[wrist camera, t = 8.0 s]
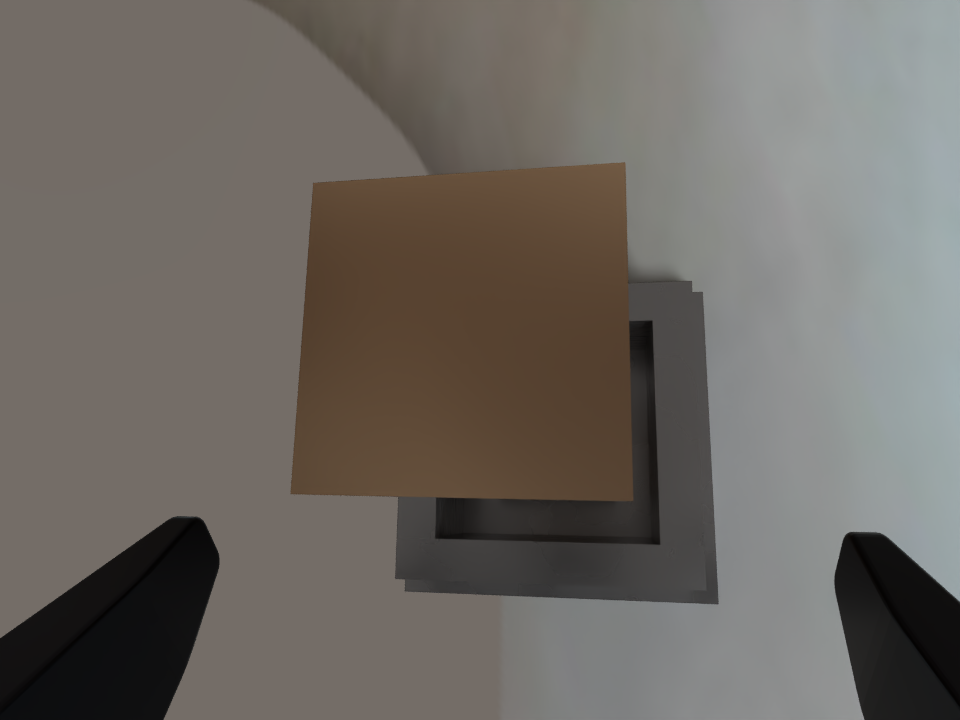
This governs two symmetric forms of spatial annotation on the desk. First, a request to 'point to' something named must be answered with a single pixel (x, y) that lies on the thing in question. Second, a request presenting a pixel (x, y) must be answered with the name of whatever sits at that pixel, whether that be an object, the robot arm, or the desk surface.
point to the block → (467, 337)
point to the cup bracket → (597, 524)
